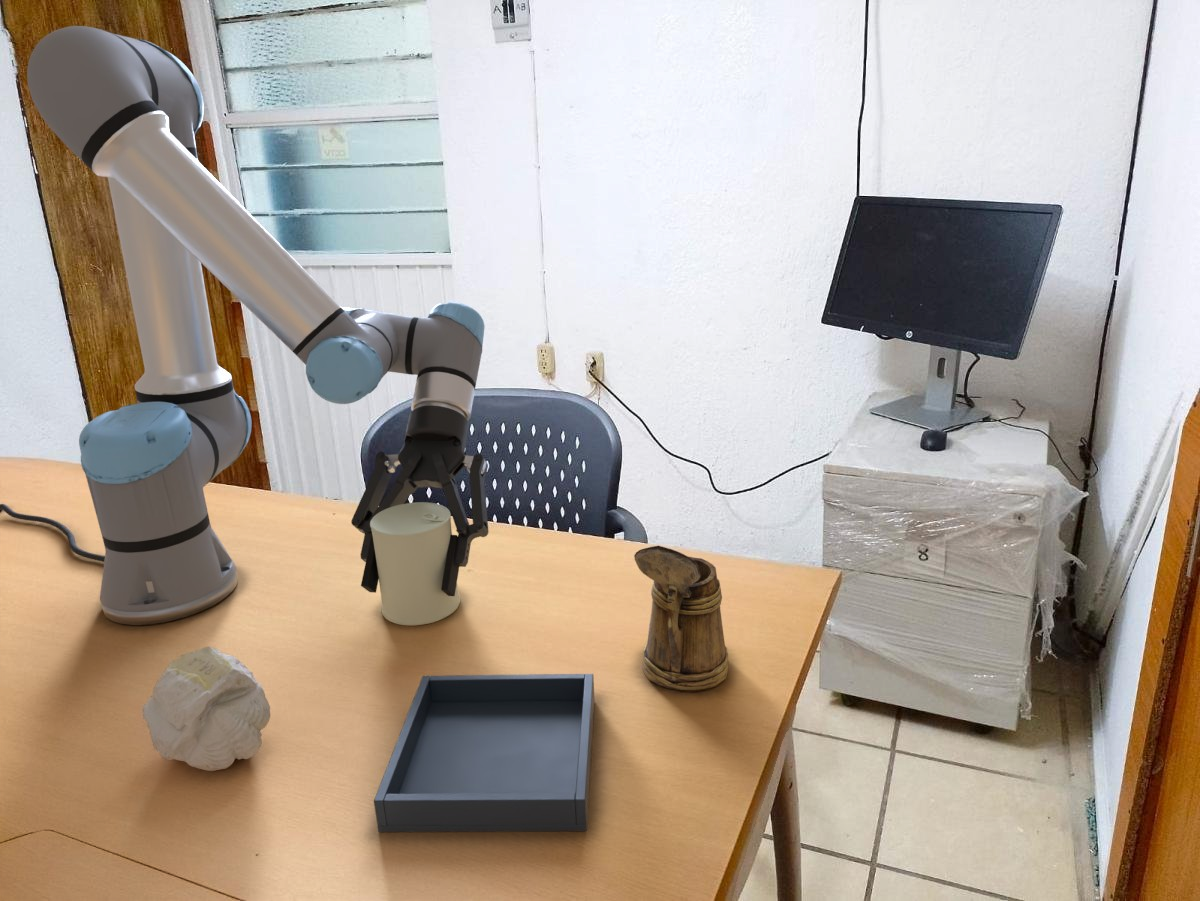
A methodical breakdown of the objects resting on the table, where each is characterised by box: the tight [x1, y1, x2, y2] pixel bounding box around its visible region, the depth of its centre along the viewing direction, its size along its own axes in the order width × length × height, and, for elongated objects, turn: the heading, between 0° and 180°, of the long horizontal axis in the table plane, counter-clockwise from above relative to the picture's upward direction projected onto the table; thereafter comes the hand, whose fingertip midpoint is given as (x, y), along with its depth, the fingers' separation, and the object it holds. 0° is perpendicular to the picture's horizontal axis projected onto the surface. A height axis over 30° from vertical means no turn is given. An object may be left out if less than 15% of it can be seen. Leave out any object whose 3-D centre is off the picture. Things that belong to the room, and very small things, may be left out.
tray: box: [373, 673, 596, 833], centre depth 73 cm, size 17×17×3 cm
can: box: [370, 501, 461, 626], centre depth 97 cm, size 9×9×12 cm
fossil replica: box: [141, 646, 271, 772], centre depth 75 cm, size 12×8×10 cm
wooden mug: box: [633, 545, 729, 693], centre depth 80 cm, size 9×14×18 cm, turn 159°
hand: (407, 590), depth 95 cm, fingers closed on can, 9 cm apart
